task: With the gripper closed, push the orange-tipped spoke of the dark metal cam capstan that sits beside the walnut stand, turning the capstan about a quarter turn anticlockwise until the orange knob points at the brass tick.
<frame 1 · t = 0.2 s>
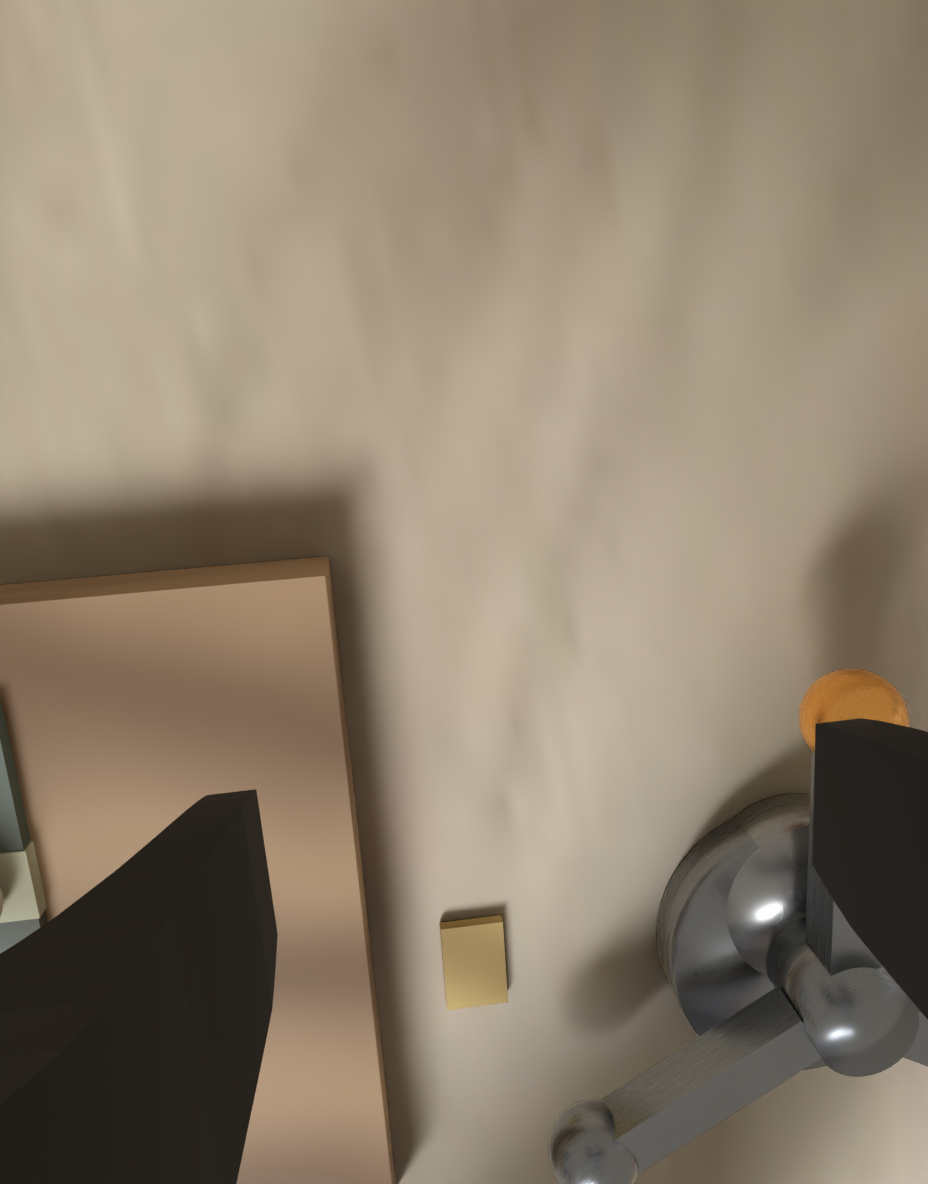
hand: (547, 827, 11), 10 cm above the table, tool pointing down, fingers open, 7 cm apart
cam capstan: (823, 907, 21), point 2 cm above the table, hinge at 0.0°
stand: (38, 943, 22), on the table
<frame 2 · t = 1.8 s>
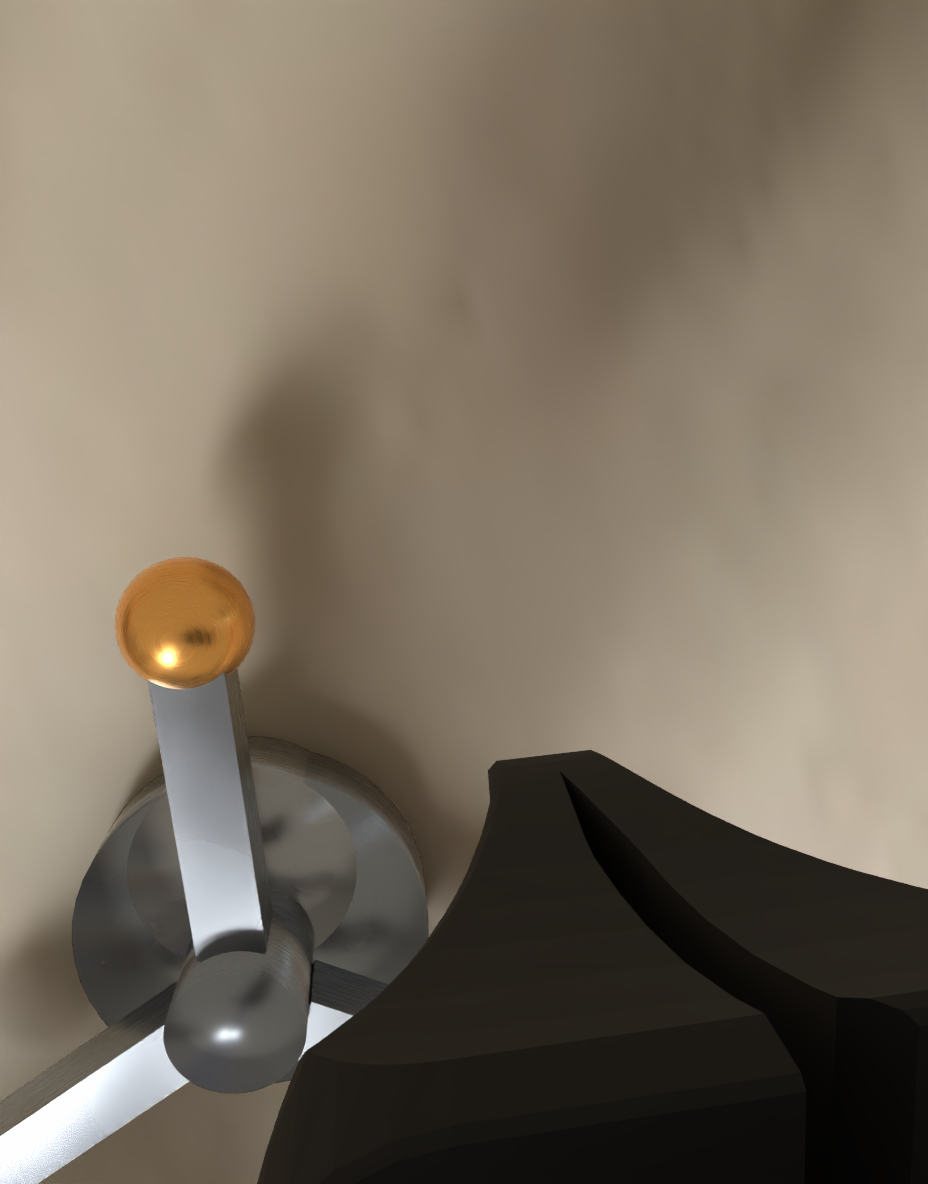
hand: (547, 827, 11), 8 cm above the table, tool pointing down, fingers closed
cam capstan: (238, 876, 17), point 2 cm above the table, hinge at 0.0°
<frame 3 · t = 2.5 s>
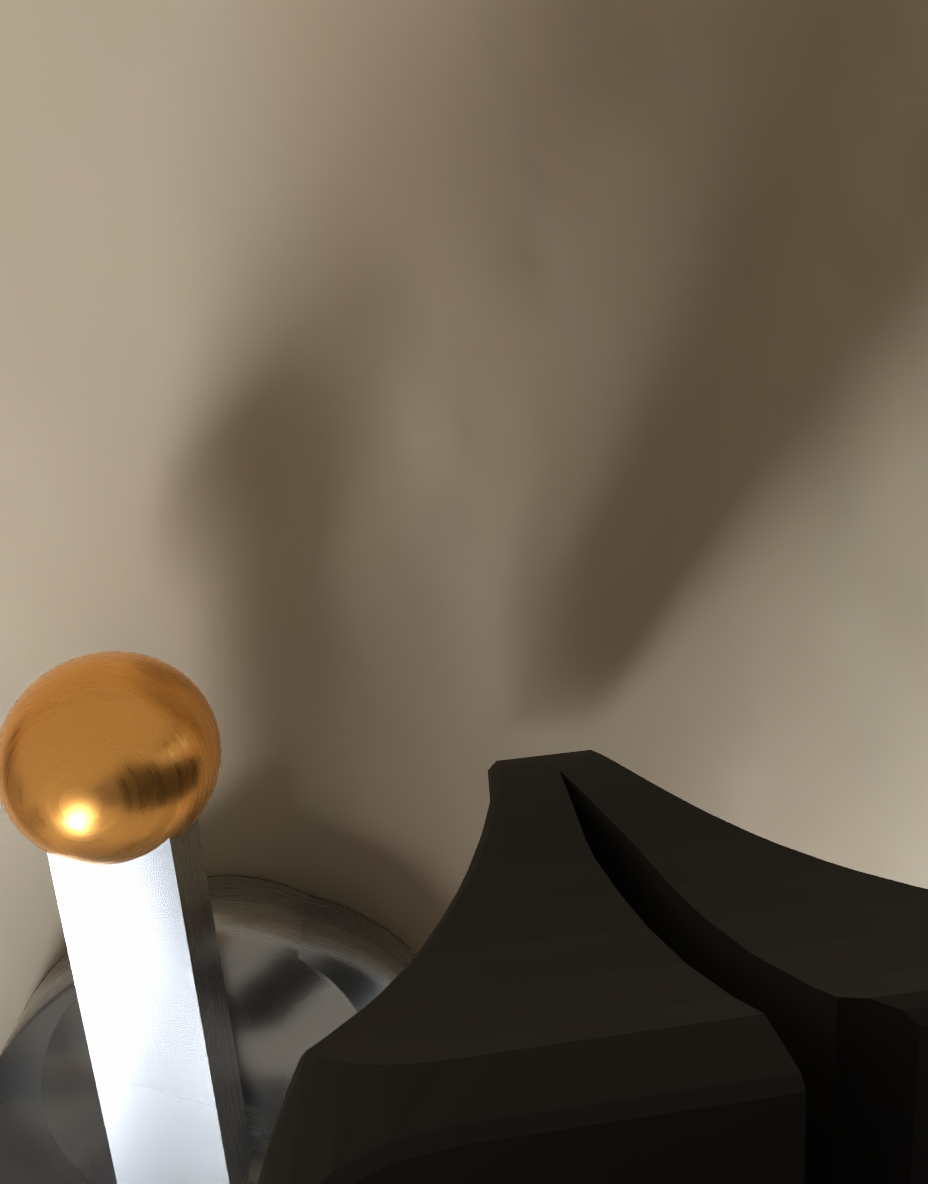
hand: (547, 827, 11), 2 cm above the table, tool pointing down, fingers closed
cam capstan: (201, 1099, 12), point 2 cm above the table, hinge at 0.0°
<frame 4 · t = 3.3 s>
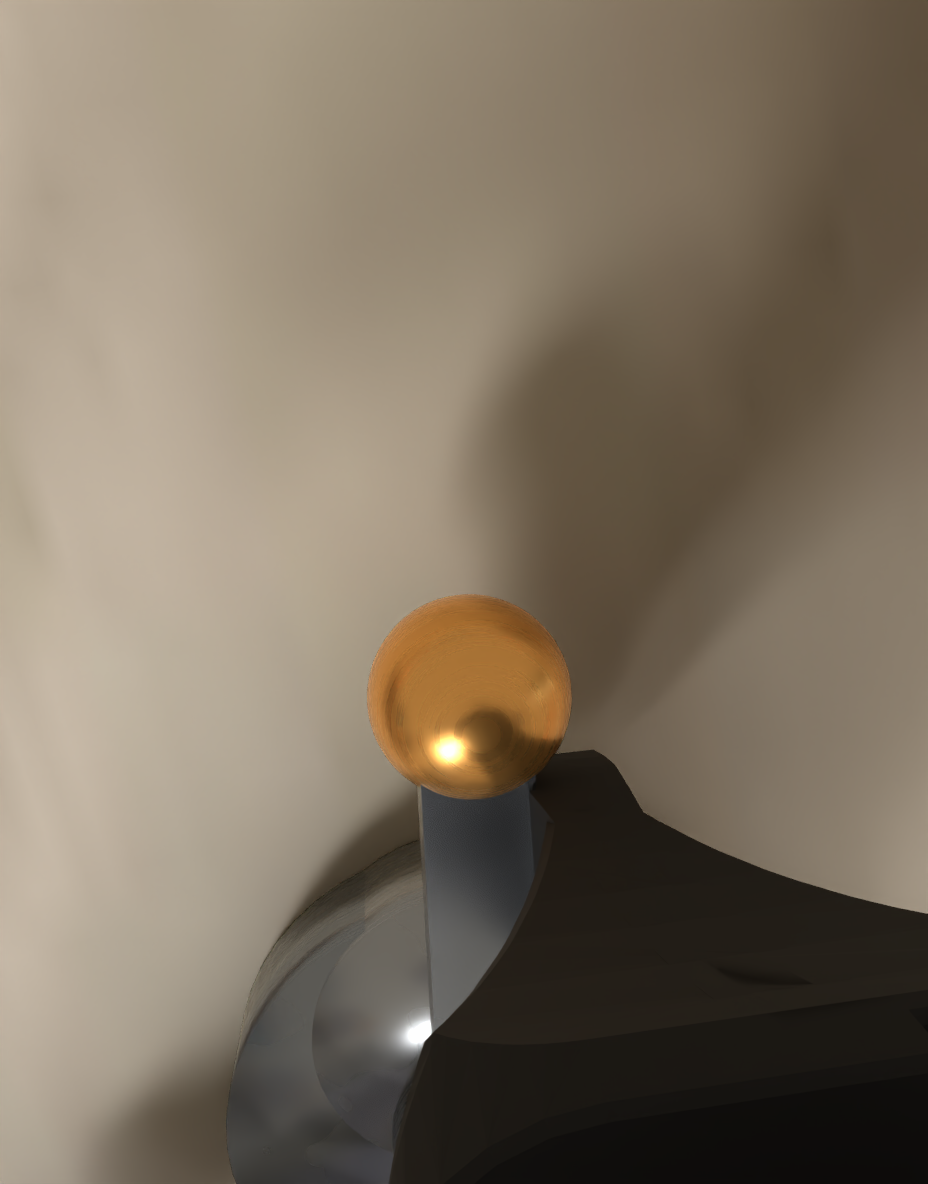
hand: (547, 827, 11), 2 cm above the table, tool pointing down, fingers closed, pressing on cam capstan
cam capstan: (476, 1045, 12), point 2 cm above the table, hinge at 0.7°, touching gripper
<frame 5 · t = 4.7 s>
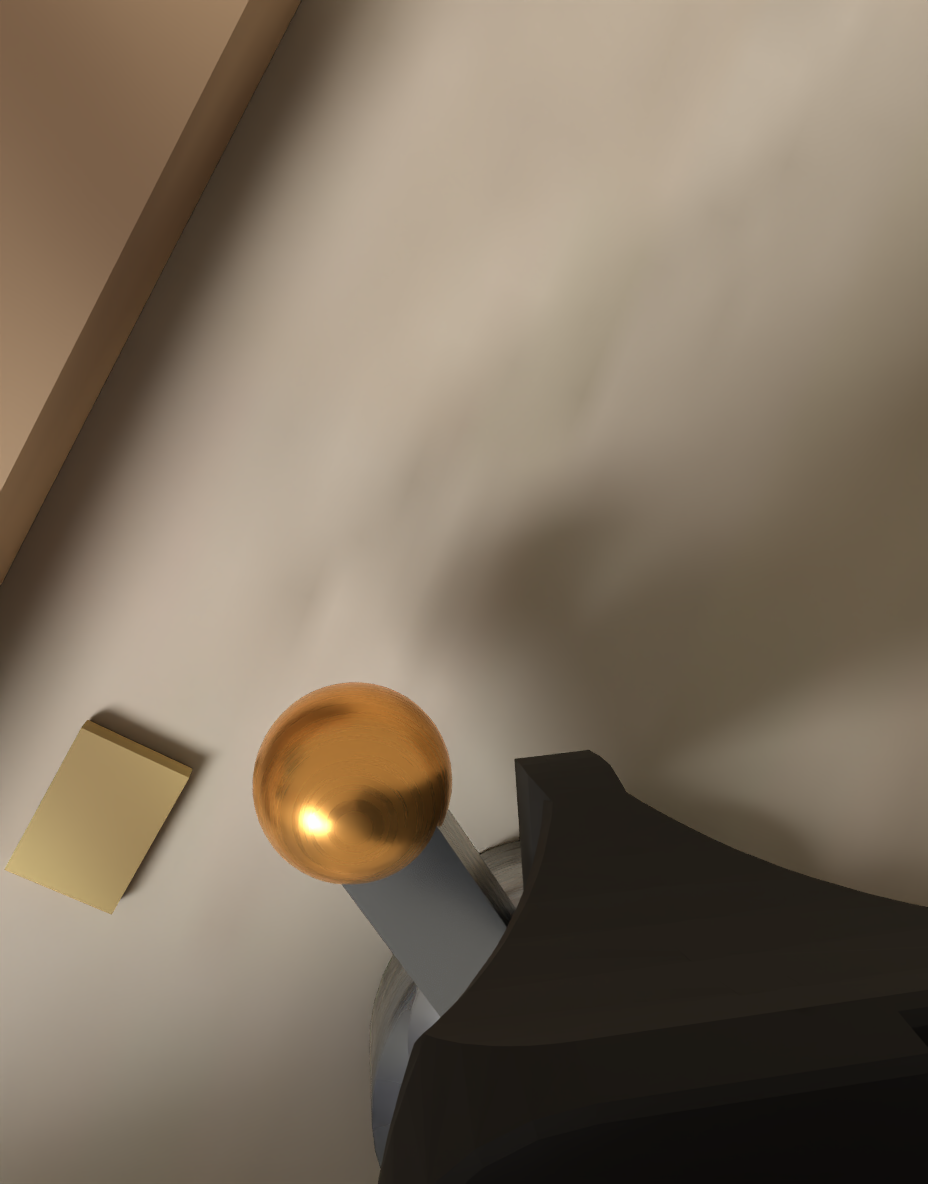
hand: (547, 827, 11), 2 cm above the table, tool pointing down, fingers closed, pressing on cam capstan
cam capstan: (561, 1046, 12), point 2 cm above the table, hinge at 61.8°, touching gripper
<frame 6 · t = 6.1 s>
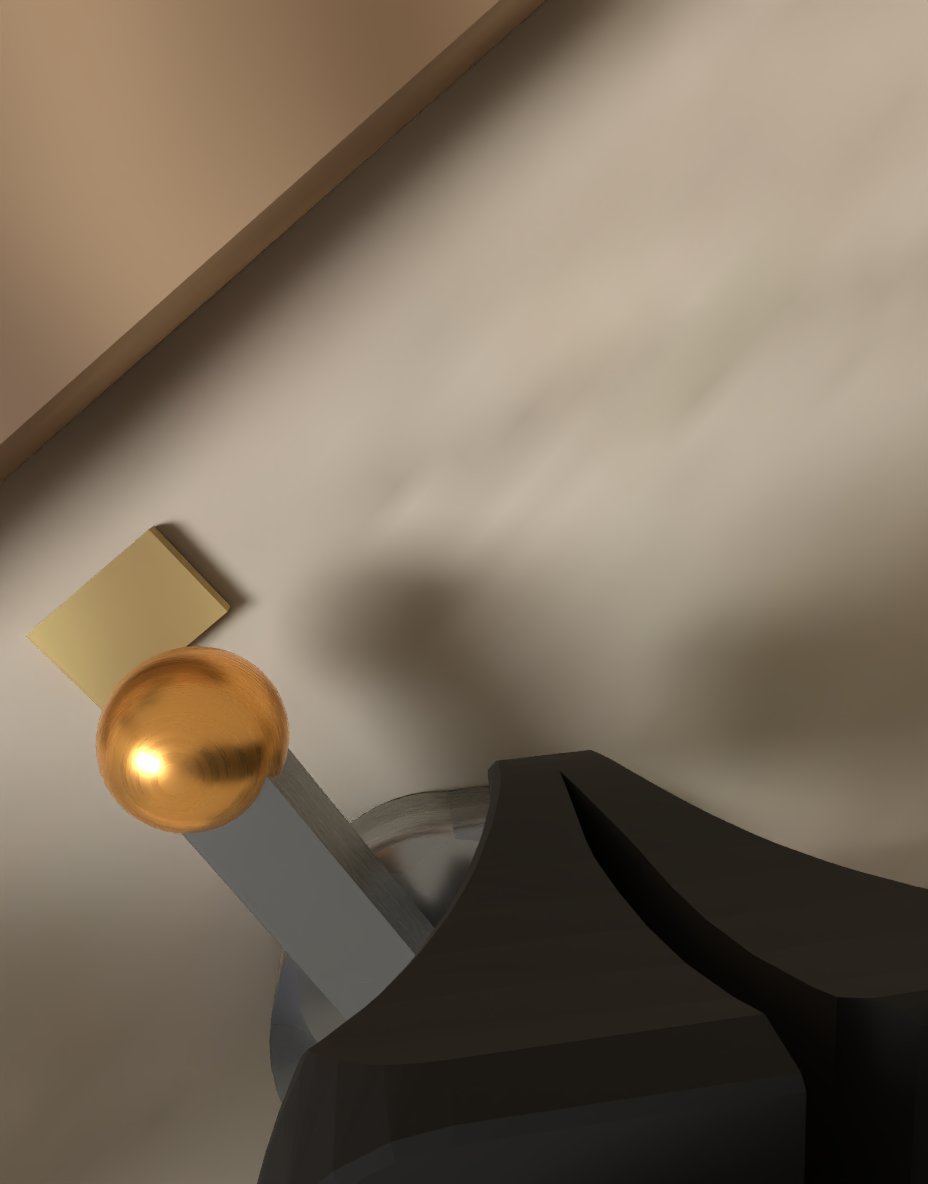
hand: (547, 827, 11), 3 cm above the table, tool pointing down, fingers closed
cam capstan: (437, 985, 13), point 2 cm above the table, hinge at 84.6°
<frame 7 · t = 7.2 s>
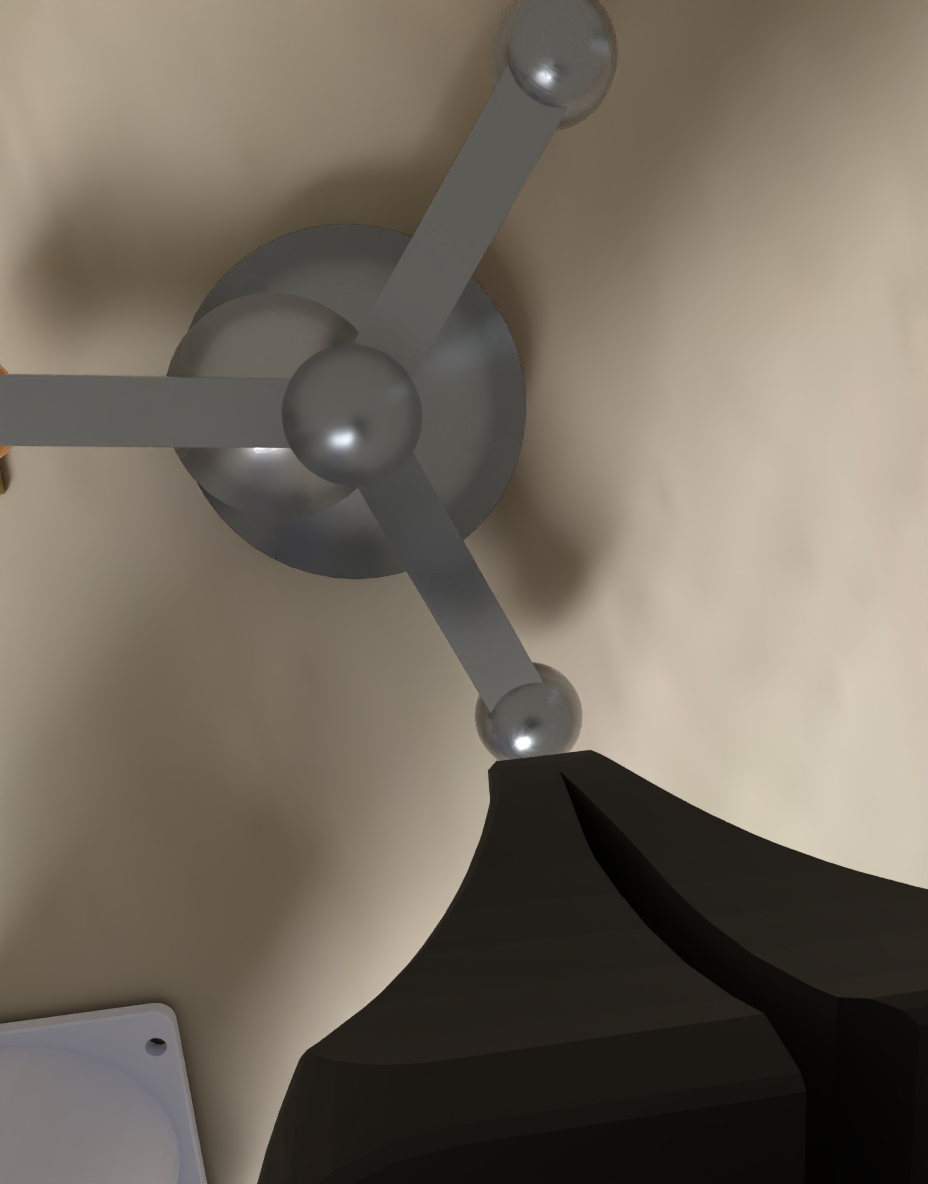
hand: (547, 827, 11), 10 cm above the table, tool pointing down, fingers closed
cam capstan: (262, 409, 17), point 2 cm above the table, hinge at 84.6°
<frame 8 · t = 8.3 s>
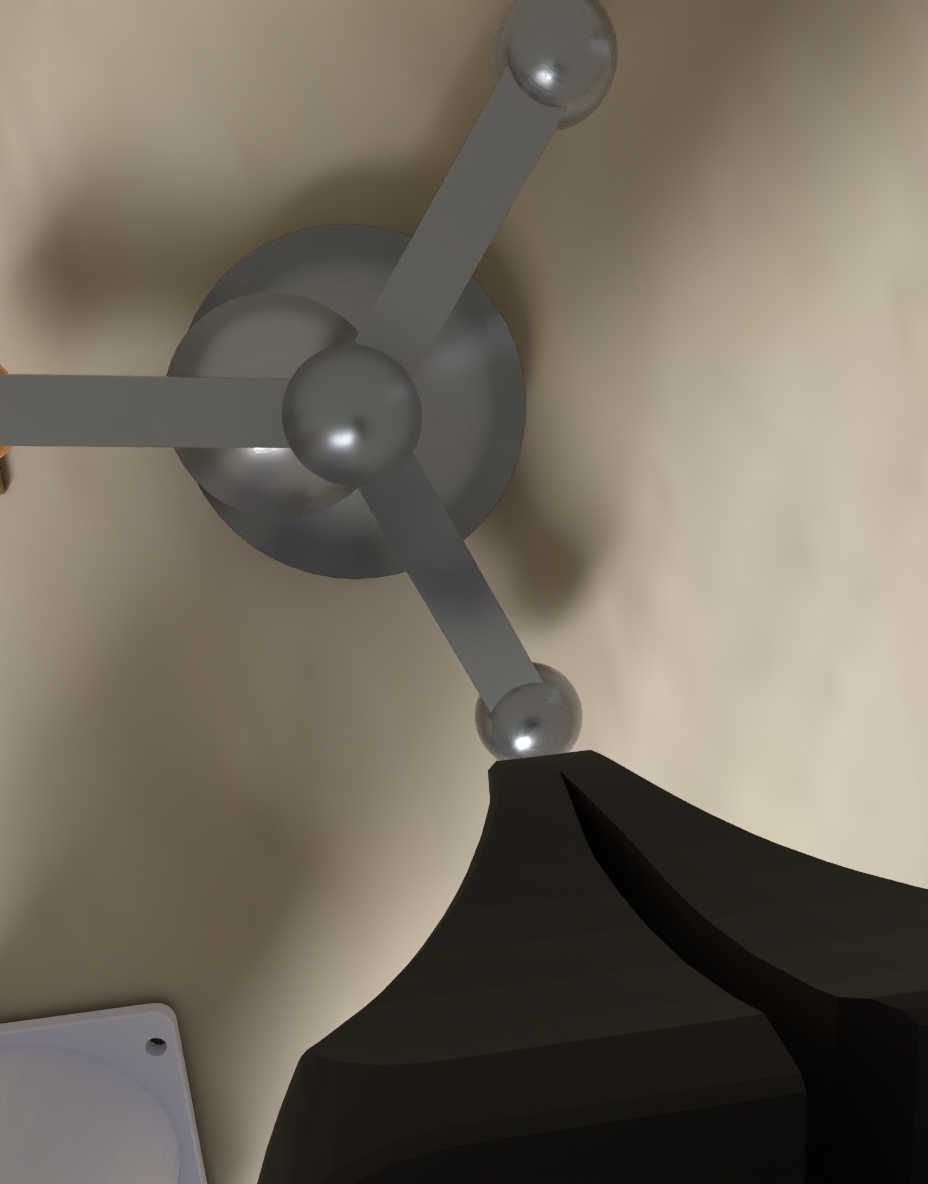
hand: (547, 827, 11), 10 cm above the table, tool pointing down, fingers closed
cam capstan: (262, 409, 17), point 2 cm above the table, hinge at 84.6°
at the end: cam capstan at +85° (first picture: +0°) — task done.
